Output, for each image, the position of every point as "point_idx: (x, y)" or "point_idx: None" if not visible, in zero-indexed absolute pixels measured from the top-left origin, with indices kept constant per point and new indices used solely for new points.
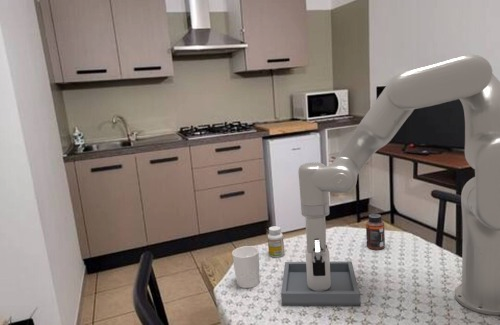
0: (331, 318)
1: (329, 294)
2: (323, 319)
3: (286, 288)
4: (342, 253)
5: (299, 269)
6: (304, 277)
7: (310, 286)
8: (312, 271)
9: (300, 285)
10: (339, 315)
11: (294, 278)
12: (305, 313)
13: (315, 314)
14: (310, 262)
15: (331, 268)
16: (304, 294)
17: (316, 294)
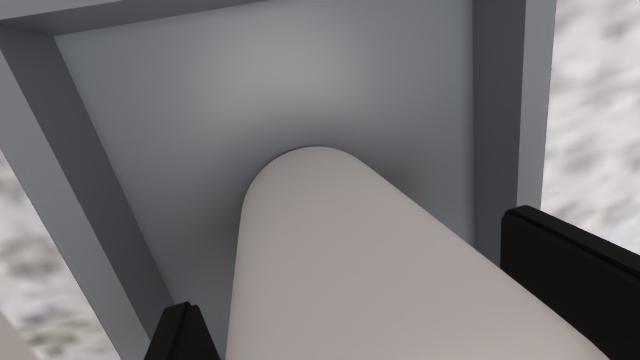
0: (36, 327)
1: (122, 353)
2: (3, 297)
3: (86, 11)
4: None
5: (486, 47)
6: (403, 100)
7: (253, 184)
8: (233, 283)
9: (296, 96)
10: (85, 350)
11: (383, 29)
12: (8, 193)
13: (30, 248)
14: (234, 352)
15: (488, 247)
16: (38, 203)
17: (84, 283)
